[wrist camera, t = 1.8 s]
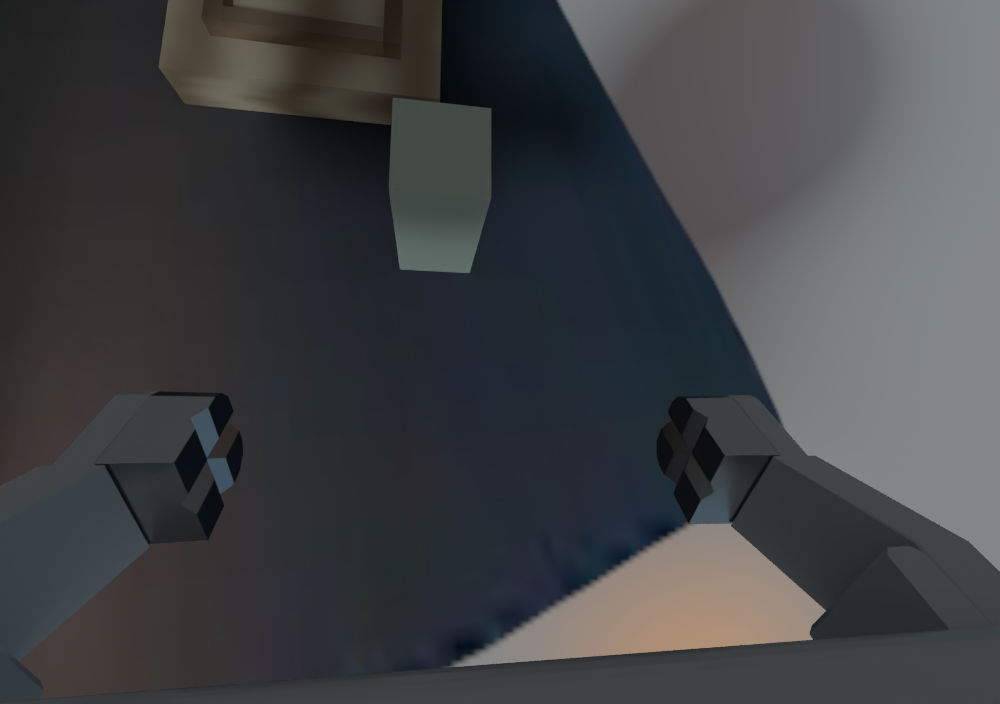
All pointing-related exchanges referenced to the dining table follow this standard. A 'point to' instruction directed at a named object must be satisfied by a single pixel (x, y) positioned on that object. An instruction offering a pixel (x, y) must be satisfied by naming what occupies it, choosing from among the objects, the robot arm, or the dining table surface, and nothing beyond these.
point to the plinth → (304, 55)
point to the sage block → (439, 182)
